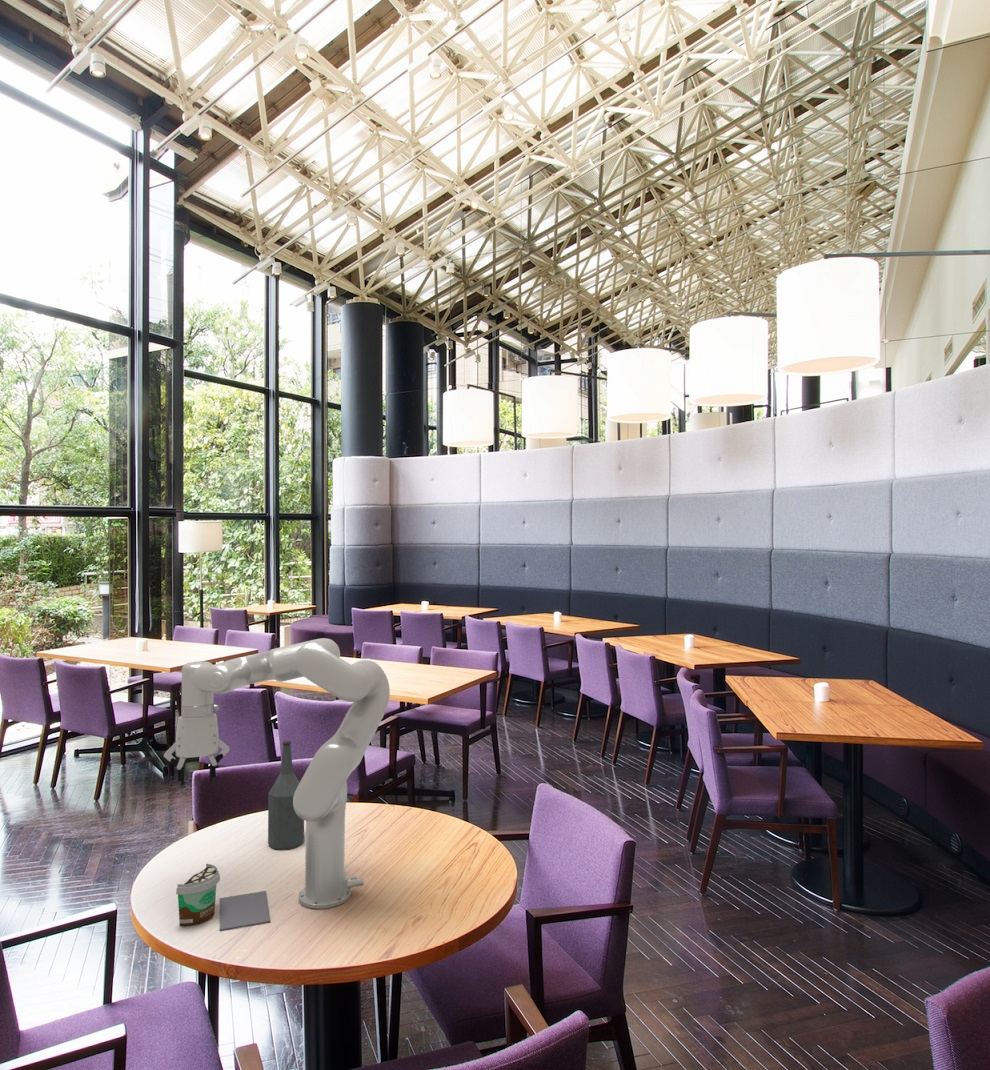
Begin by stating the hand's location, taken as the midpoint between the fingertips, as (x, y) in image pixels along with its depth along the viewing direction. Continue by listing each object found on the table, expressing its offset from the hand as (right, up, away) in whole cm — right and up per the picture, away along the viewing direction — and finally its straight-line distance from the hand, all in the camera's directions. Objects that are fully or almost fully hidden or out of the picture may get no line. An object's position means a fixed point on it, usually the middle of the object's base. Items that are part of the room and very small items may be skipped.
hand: (197, 781), depth 186 cm
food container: (+7, -28, -14) cm, 32 cm away
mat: (+16, -27, -11) cm, 33 cm away
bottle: (+14, -28, +29) cm, 43 cm away
